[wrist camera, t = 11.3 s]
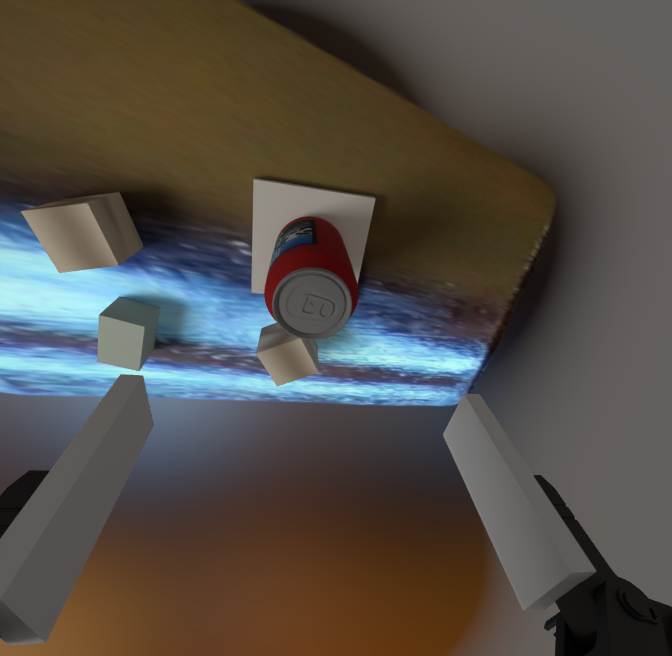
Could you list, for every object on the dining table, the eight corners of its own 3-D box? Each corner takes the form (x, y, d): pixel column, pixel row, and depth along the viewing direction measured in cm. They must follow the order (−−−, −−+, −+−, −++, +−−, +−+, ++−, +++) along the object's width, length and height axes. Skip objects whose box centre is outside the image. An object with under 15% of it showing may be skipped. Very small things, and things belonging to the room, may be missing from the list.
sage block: (116, 339, 36) (97, 361, 33) (119, 296, 33) (99, 314, 30) (154, 349, 37) (139, 371, 34) (160, 307, 34) (144, 326, 31)
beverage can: (286, 202, 29) (276, 243, 18) (354, 228, 30) (379, 278, 20) (267, 269, 32) (250, 334, 22) (330, 288, 34) (341, 357, 23)
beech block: (93, 253, 31) (59, 272, 26) (63, 198, 28) (20, 211, 24) (144, 246, 31) (118, 265, 26) (120, 191, 28) (87, 203, 24)
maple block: (280, 358, 39) (277, 386, 35) (261, 327, 37) (256, 353, 33) (317, 345, 39) (318, 372, 35) (301, 313, 36) (300, 338, 32)
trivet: (252, 288, 34) (251, 292, 33) (255, 177, 28) (253, 179, 27) (352, 299, 36) (353, 303, 35) (373, 196, 30) (375, 198, 29)
